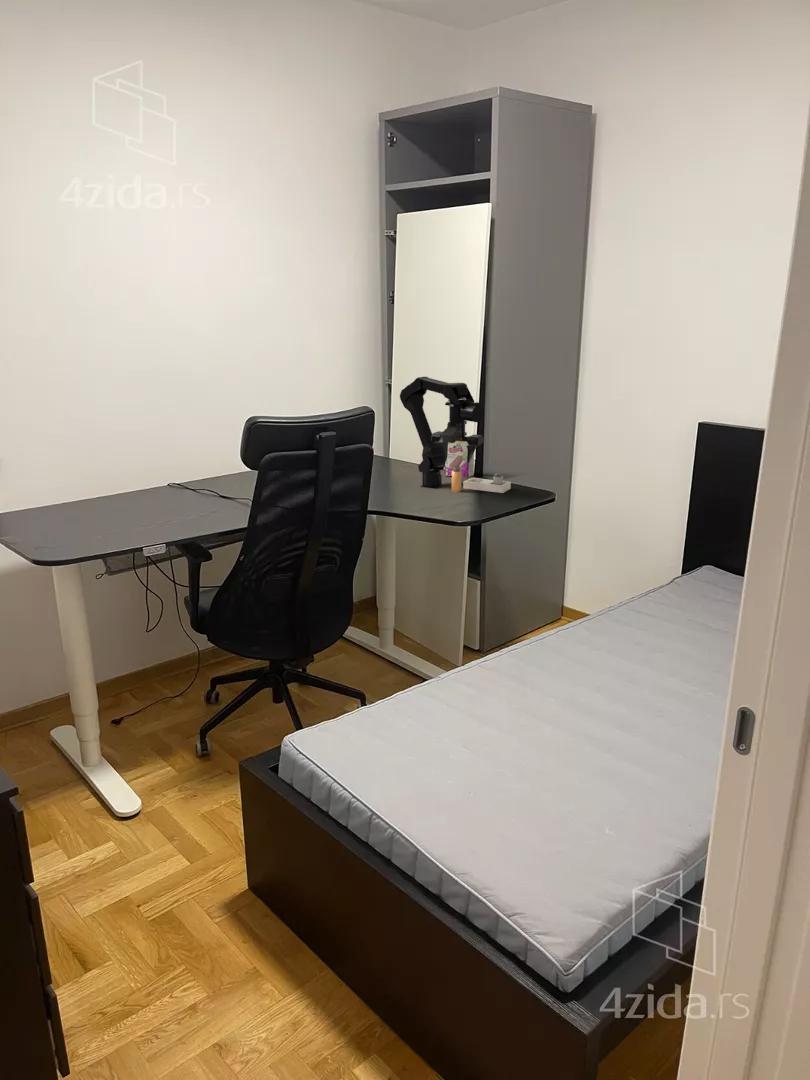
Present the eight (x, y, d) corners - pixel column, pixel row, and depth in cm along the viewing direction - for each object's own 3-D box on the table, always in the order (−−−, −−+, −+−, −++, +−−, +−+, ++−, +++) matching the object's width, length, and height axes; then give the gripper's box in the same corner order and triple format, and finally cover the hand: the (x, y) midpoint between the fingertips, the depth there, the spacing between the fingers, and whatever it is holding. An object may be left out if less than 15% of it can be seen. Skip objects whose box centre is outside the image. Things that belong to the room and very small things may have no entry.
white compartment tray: (463, 490, 293) (463, 481, 292) (471, 486, 298) (471, 477, 297) (502, 495, 285) (502, 486, 284) (510, 491, 290) (510, 482, 289)
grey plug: (491, 490, 288) (491, 474, 287) (495, 488, 291) (495, 472, 290) (500, 491, 287) (500, 475, 285) (504, 489, 290) (504, 473, 288)
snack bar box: (443, 476, 315) (443, 436, 310) (449, 474, 319) (449, 434, 314) (468, 479, 309) (468, 438, 304) (474, 477, 313) (474, 436, 308)
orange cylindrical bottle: (449, 492, 289) (449, 468, 286) (454, 490, 292) (454, 466, 289) (458, 493, 287) (458, 469, 284) (463, 491, 290) (463, 467, 287)
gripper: (423, 420, 279) (423, 463, 284) (471, 424, 270) (470, 469, 275) (438, 415, 288) (438, 457, 293) (484, 419, 279) (483, 462, 284)
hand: (457, 461), depth 286 cm, fingers open, 9 cm apart
